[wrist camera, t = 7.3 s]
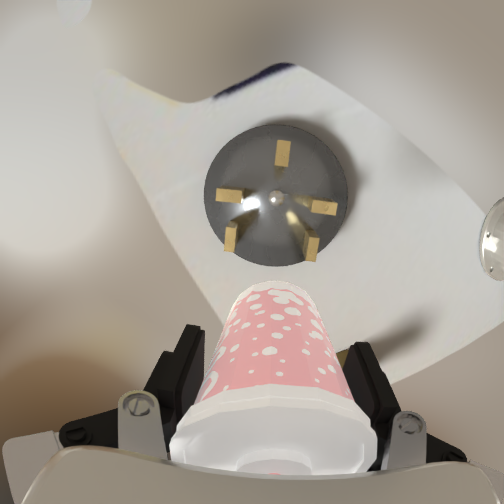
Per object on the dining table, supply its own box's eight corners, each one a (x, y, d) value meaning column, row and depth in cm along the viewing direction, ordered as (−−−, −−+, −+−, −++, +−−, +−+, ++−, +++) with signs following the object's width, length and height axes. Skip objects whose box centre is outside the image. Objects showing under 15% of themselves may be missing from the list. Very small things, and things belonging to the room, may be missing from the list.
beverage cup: (269, 240, 14) (252, 633, 1) (354, 314, 15) (453, 578, 2) (193, 322, 16) (89, 581, 2) (276, 380, 17) (272, 615, 3)
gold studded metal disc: (213, 120, 30) (204, 114, 25) (352, 138, 29) (365, 135, 25) (202, 253, 34) (193, 267, 30) (331, 268, 34) (340, 284, 29)
